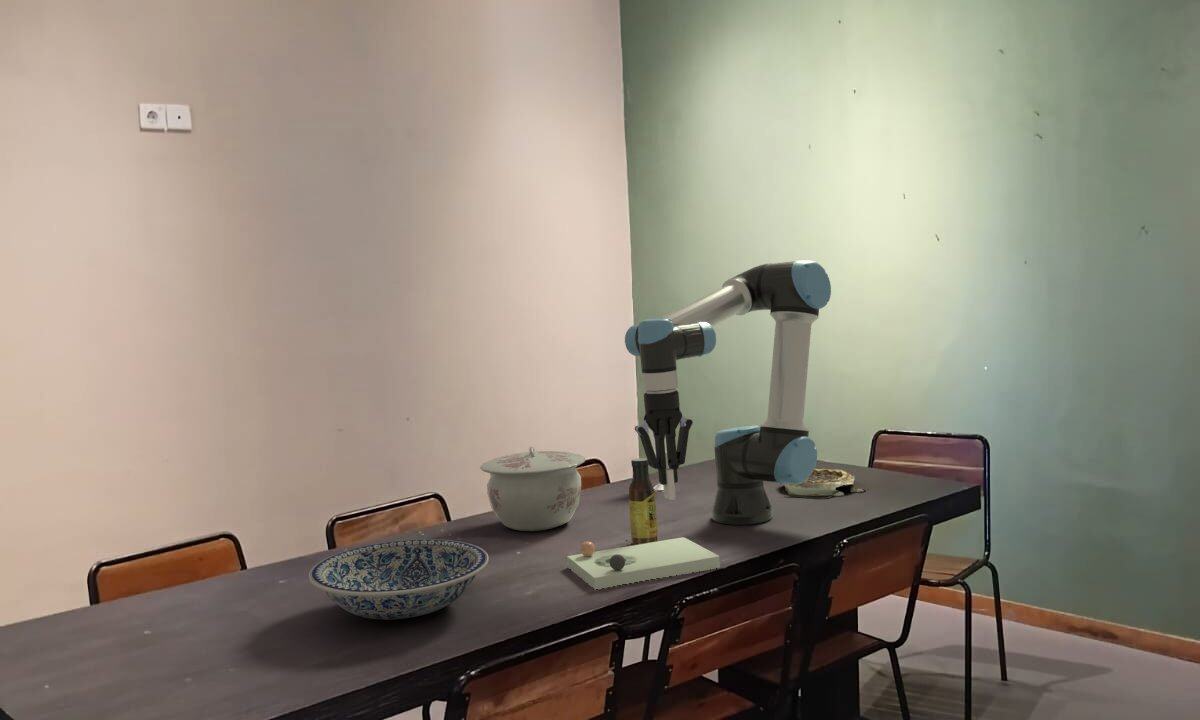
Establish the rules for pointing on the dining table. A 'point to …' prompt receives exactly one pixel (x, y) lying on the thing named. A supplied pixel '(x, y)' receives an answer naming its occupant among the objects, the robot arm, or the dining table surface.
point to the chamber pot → (534, 488)
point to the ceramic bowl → (399, 576)
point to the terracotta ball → (587, 548)
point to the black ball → (617, 562)
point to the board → (643, 562)
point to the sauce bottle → (642, 504)
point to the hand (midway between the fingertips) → (670, 498)
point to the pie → (823, 484)
